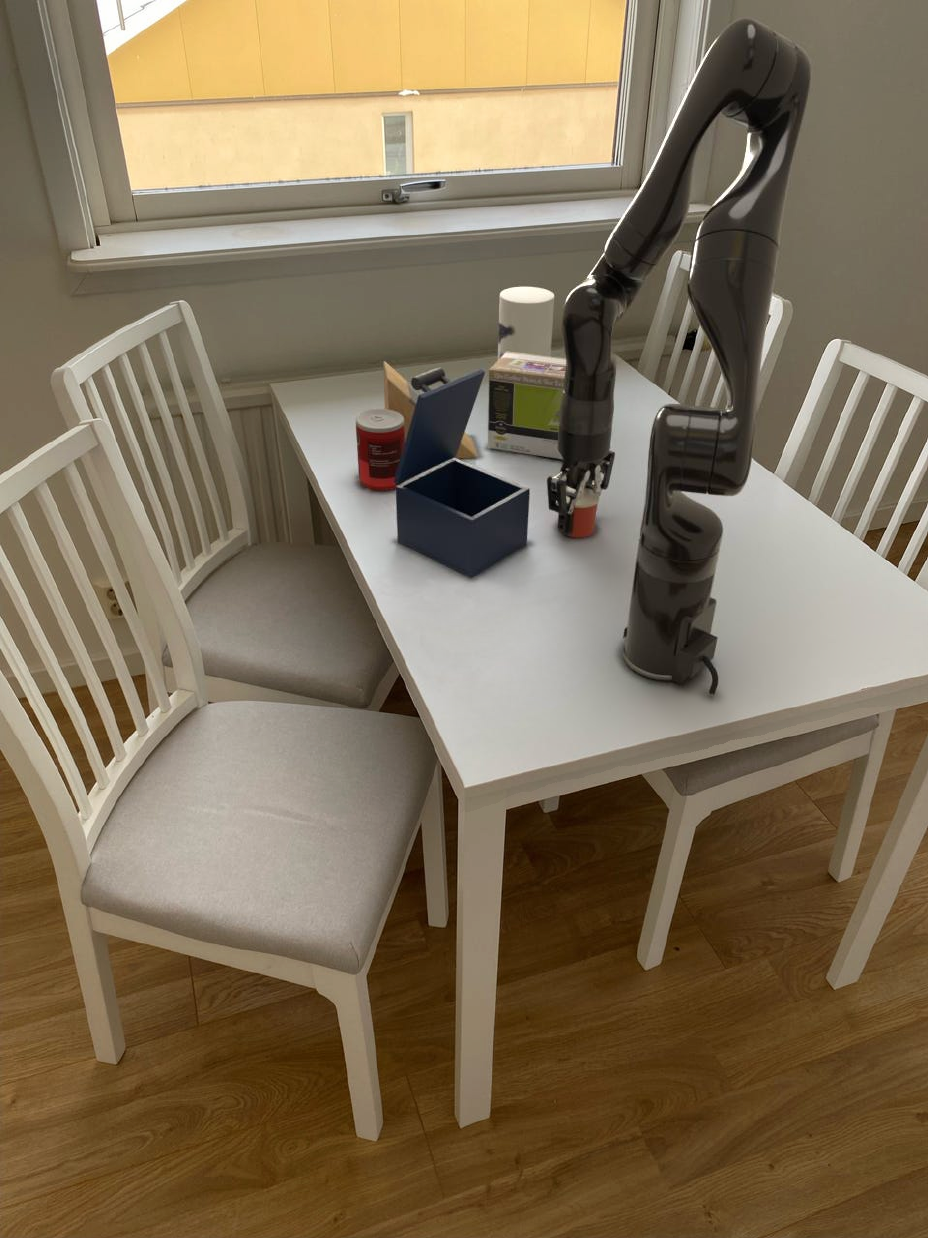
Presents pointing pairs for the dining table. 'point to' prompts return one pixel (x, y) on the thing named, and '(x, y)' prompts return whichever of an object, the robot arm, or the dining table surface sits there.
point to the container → (525, 321)
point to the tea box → (526, 403)
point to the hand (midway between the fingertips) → (576, 524)
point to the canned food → (379, 447)
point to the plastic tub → (584, 513)
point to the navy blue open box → (462, 516)
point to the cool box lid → (437, 421)
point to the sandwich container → (413, 406)
